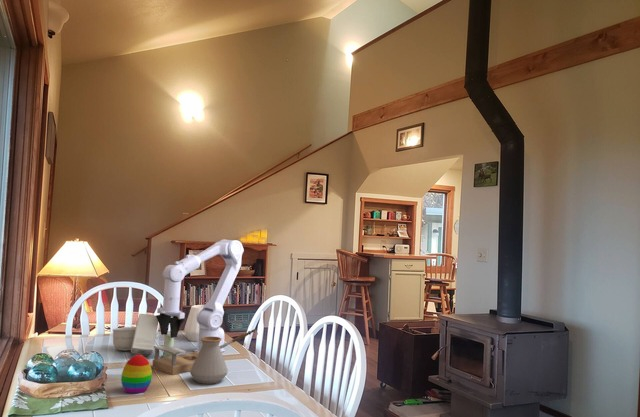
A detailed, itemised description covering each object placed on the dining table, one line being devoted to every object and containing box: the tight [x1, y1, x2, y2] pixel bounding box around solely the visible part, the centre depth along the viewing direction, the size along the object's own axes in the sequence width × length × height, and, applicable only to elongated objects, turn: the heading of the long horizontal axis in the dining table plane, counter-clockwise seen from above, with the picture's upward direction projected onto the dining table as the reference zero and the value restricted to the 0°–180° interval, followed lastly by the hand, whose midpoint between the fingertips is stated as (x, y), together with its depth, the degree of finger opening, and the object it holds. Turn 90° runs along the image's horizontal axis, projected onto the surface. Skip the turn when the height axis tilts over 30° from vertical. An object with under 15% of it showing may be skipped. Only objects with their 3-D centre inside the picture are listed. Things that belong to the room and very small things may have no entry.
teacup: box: [112, 326, 136, 351], centre depth 184 cm, size 14×11×8 cm
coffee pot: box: [189, 328, 259, 385], centre depth 155 cm, size 21×12×15 cm, turn 121°
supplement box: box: [130, 313, 159, 355], centre depth 178 cm, size 7×7×13 cm
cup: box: [183, 304, 205, 342], centre depth 209 cm, size 13×13×14 cm
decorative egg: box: [120, 354, 153, 394], centre depth 139 cm, size 8×8×10 cm
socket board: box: [151, 343, 199, 376], centre depth 166 cm, size 18×12×7 cm, turn 140°
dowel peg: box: [162, 333, 175, 358], centre depth 177 cm, size 3×3×8 cm
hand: (168, 335), depth 177 cm, fingers open, 6 cm apart
